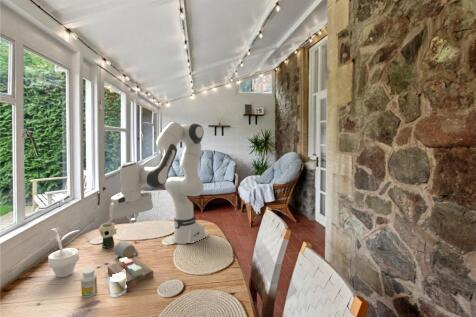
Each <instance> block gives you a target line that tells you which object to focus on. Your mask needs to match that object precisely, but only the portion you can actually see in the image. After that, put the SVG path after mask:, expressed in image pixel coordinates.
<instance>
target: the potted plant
mask: <svg viewBox="0 0 476 317" xmlns="http://www.w3.org/2000/svg"><path fill="white" fill-rule="evenodd" d="M60 229H61V228H60V227H59V226H58V225H56V227H54V228H50V231H53V232H54V233H55V234H54V236H53V238H54V239H55V241H56V242H57V244H58V247H59V250H56V251H54V252H51V253H50V254H49V255H48V256H47V257H48V258H47V260H48V264H47V265H48V267H49V268H50V269H52V271H53V273H54V275H55V277H57V278H65V277H68V276H71V275H72V273H73V272H74V270H75V267H76V264H77V262H78V261H79V260H80V251H79V250H78V248H74V247H67V248H64V247H63V243H62V241H63V240H65V239H66V238H68V237H69V236H71V235H73V234H74V233H77V232H80V231H81V229H78V230H73V231H69V232H68V233H67V234H65V235H63V236H61V235H59V230H60Z"/></svg>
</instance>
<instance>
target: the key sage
mask: <svg viewBox="0 0 476 317" xmlns="http://www.w3.org/2000/svg"><path fill="white" fill-rule="evenodd" d="M131 275H132V276H133V277H134V278H135V277H137V276H140V275H142V268H141V267H140V266H139V265H138V266H135V267H133V268H131Z"/></svg>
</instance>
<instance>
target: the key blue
mask: <svg viewBox="0 0 476 317" xmlns="http://www.w3.org/2000/svg"><path fill="white" fill-rule="evenodd" d="M135 266H137V265H135V264H131V265H129V266H127V272H128V273H129V274H130V273H131V268H133V267H135Z"/></svg>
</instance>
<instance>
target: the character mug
mask: <svg viewBox="0 0 476 317" xmlns="http://www.w3.org/2000/svg"><path fill="white" fill-rule="evenodd" d="M98 231H99V233H100V236H101V237H102V243H101V245H102V246H101V247H102V248H105V249H109V248H112V247H113V246H115V240H114V236H115V235H116V234H117V228H116V227H115V223H114V222H106V223H102V224H101V225H100V227H99V228H98Z"/></svg>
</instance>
